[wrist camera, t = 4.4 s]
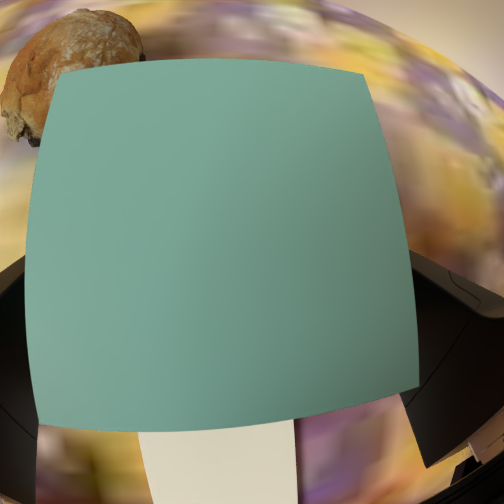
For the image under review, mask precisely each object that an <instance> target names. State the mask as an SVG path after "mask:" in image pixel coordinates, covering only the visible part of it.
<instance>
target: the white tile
mask: <svg viewBox="0 0 504 504" xmlns="http://www.w3.org/2000/svg"><path fill="white" fill-rule="evenodd" d="M138 437H139V442H140V447H141V452H142V457H143V461H144V466H145V470H146V475H147V479H148V483H149V487H150V491H151V495H152V499H153V503H154V504H298V497H297V475H296V455H295V438H294V421H293V419H292V420H286V421H280V422H273V423H267V424H260V425H252V426H244V427H235V428H225V429H214V430H200V431H180V432H138Z"/></svg>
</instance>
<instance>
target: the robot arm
mask: <svg viewBox="0 0 504 504" xmlns="http://www.w3.org/2000/svg"><path fill="white" fill-rule="evenodd" d="M409 256H410V263H411V270H412V278H413V287H414V296H415V306H416V318H417V332H418V352H419V387H416V388H413V389H410V390H407V391H404V392H401V393H399V394H400V397H401V399H402V402H403V404H404V407H405V410H406V413H407V416H408V418H409V421H410V424H411V427H412V430H413V432H414V435H415V438H416V441H417V444H418V447H419V450H420V453H421V456H422V459H423V462H424V465H425V467H426V469H427V468H429V467H431V466H433V465H435V464H437V463H439V462H441V461H443V460H445V459H447V458H448V457H450V456H452V455H454V454H456V453H457V452H459V451H461V450H463V449H464V448H466V447H468V446H469V447H470V449H471V451H472V453H473V455H472V456H471V457H469V458H468V459H466V460H465V461H463V462H462V463H460V464H459V465H457V466H456V468H455V471H454V474H453V478H452V481H451V484H450V486H449V487H447V488H446V489H444V490H442V491H440V492H438V493H437V494H435V495H433V496H431V497H429V498H427V499H425V500H424V501H422V502H420V503H418V504H504V298H503V297H501V296H499V295H497V294H495V293H493V292H491V291H489V290H487V289H485V288H483V287H481V286H479V285H477V284H475V283H473V282H471V281H469V280H467V279H465V278H463V277H462V276H460V275H458V274H456V273H454V272H452V271H450V270H447V269H446V268H444V267H442V266H441V265H439V264H437V263H435V262H433V261H431V260H429V259H427V258H425V257H423V256H421V255H419V254H417V253H415V252H413V251H411V250H409ZM38 425H39V419H38V414H37V409H36V404H35V398H34V393H33V387H32V380H31V373H30V365H29V357H28V347H27V335H26V318H25V255H24V256H23V257H22V258H20V259H19V260H17V261H16V262H14V263H13V264H12V265H10V266H9V267H7V268H6V269H5V270H3V271H2V272H0V504H4V501H7V502H10V503H13V504H36V455H37V437H38Z"/></svg>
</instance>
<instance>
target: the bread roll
mask: <svg viewBox="0 0 504 504" xmlns="http://www.w3.org/2000/svg"><path fill="white" fill-rule="evenodd" d="M143 61H146V60H145V55H144V54H143V47H142V43H141V39H140V36H139V34H138V33H137V31H136V29H135V27H134V26H133V25H132V23H131V22H130V21H128V20H127V19H125V18H124V17H122V16H120V15H117V14H115V13H113V12H110V11H104V10H96V11H90V10H89V9H77V10H76V11H74V12H72V13H70V14H68V15H67V16H65V17H62V18H60V19H56V20H55V21H53V22H51V23H50V24H48V25H46V26H45V27H44V28H43V29H41V30H40V31H39V32H38V33H36V34H35V35H34V36H33V37H32V38H31V39H30V40H29V41H28V42H27V43H26V44H25V46H24V47H23V48H22V49H21V50H20V51H19V53H18V54H17V56H16V58H15V59H14V61H13V62H12V64H11V66H10V69H9V71H8V74H7V78H6V83H5V85H4V90H3V92H2V93H1V95H0V104H1V116H3V117H6V118H7V119H6V122H5V124H4V128H5V132H6V133H7V134H8V136H9V138H10V139H11V140H14V141H15V142H19V141H18V139H19V138H20V137H22V136H25V137H26V138H27V139H28V142H29V144H30V145H31V147H40V143H41V139H42V134H43V130H44V126H45V122H46V119H47V115H48V111H49V108H50V104H51V101H52V97H53V94H54V91H55V88H56V85H57V82H58V79H59V76H60V74H62V73H67V72H72V71H77V70H83V69H89V68H95V67H101V66H108V65H115V64H124V63H133V62H143Z"/></svg>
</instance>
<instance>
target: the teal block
mask: <svg viewBox="0 0 504 504" xmlns="http://www.w3.org/2000/svg"><path fill="white" fill-rule="evenodd" d="M25 318H26V335H27V347H28V357H29V365H30V373H31V380H32V387H33V393H34V398H35V404H36V409H37V414H38V419H39V423H40V424H43V425H50V426H58V427H66V428H75V429H86V430H100V431H119V432H180V431H200V430H214V429H225V428H235V427H244V426H252V425H260V424H267V423H273V422H280V421H286V420H292V419H297V418H303V417H308V416H313V415H318V414H322V413H327V412H331V411H336V410H340V409H344V408H348V407H352V406H356V405H360V404H364V403H367V402H371V401H374V400H378V399H381V398H385V397H388V396H391V395H395V394H398V393H401V392H404V391H407V390H410V389H413V388H416V387H419V352H418V332H417V318H416V306H415V296H414V287H413V278H412V270H411V263H410V256H409V249H408V243H407V237H406V231H405V226H404V220H403V215H402V210H401V205H400V200H399V196H398V191H397V187H396V182H395V178H394V174H393V170H392V166H391V162H390V158H389V154H388V150H387V147H386V143H385V140H384V136H383V133H382V129H381V126H380V123H379V119H378V116H377V113H376V110H375V107H374V104H373V101H372V98H371V95H370V92H369V89H368V86H367V84H366V81H365V78H364V75H363V74H359V73H354V72H348V71H343V70H337V69H331V68H325V67H318V66H311V65H304V64H295V63H286V62H276V61H263V60H247V59H171V60H155V61H143V62H133V63H124V64H115V65H108V66H101V67H95V68H89V69H83V70H77V71H72V72H67V73H62V74H60V76H59V79H58V82H57V85H56V88H55V91H54V94H53V97H52V101H51V104H50V108H49V111H48V115H47V119H46V122H45V126H44V130H43V134H42V139H41V143H40V148H39V152H38V157H37V162H36V168H35V173H34V179H33V186H32V192H31V199H30V207H29V216H28V226H27V238H26V255H25Z"/></svg>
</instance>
